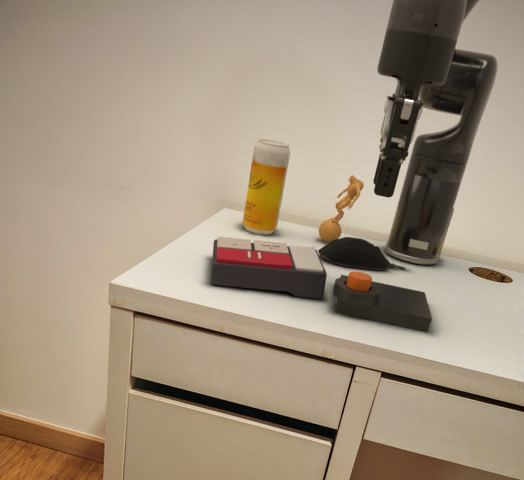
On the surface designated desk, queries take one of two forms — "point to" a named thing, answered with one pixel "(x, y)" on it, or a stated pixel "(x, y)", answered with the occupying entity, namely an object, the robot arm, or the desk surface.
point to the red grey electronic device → (268, 267)
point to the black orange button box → (384, 304)
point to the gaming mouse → (355, 254)
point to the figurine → (340, 211)
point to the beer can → (266, 186)
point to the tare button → (359, 281)
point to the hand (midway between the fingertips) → (382, 190)
